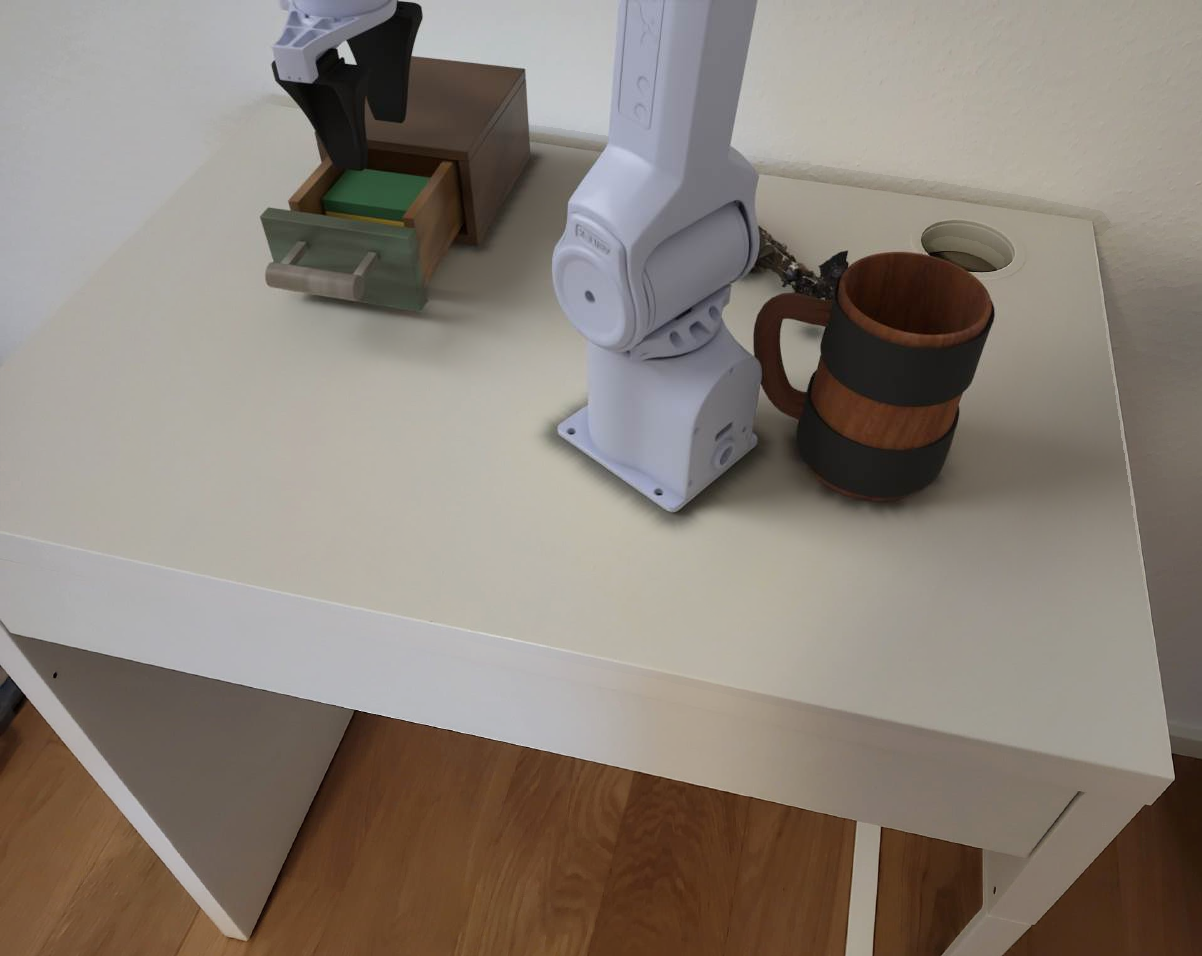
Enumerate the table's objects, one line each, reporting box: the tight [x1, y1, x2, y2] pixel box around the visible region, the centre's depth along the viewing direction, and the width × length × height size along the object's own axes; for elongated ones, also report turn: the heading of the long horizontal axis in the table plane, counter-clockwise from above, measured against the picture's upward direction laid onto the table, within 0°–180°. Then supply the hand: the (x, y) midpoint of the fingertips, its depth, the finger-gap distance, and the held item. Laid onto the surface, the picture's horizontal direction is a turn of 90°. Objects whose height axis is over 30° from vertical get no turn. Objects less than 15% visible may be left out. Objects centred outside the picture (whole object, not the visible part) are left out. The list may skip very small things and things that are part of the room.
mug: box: [752, 251, 996, 502], centre depth 51 cm, size 9×12×12 cm
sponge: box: [322, 169, 430, 227], centre depth 66 cm, size 4×6×4 cm
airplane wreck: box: [749, 224, 850, 300], centre depth 65 cm, size 6×18×6 cm, turn 36°
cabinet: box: [314, 55, 531, 246], centre depth 72 cm, size 14×12×8 cm
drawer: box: [259, 149, 466, 312], centre depth 64 cm, size 17×10×6 cm, turn 166°
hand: (371, 142), depth 62 cm, fingers open, 6 cm apart
